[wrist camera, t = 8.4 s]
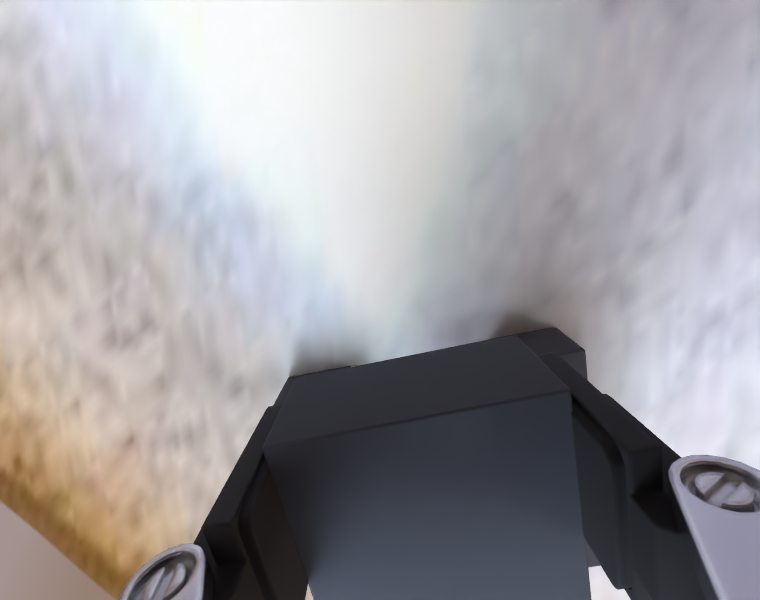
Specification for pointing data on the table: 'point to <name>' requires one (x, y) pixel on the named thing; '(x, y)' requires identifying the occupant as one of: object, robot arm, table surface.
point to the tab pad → (434, 478)
